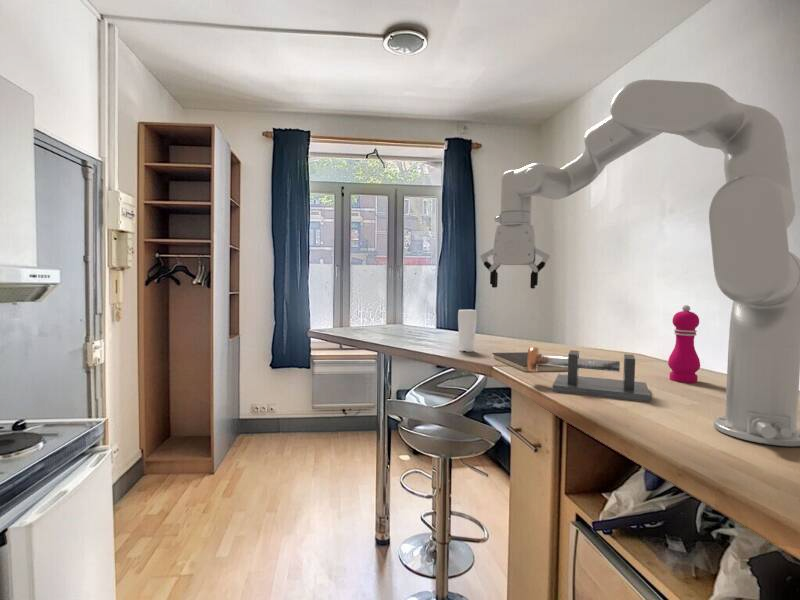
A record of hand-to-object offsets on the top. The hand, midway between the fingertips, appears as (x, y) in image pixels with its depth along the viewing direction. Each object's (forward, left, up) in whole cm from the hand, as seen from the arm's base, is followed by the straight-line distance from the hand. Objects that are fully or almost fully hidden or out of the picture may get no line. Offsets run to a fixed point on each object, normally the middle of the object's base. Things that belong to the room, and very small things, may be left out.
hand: (513, 287), depth 115 cm
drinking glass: (+42, +24, -24) cm, 54 cm away
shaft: (-1, -15, -21) cm, 25 cm away
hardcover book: (+27, -1, -25) cm, 37 cm away
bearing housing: (-1, -21, -24) cm, 32 cm away
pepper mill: (+22, -41, -24) cm, 52 cm away
